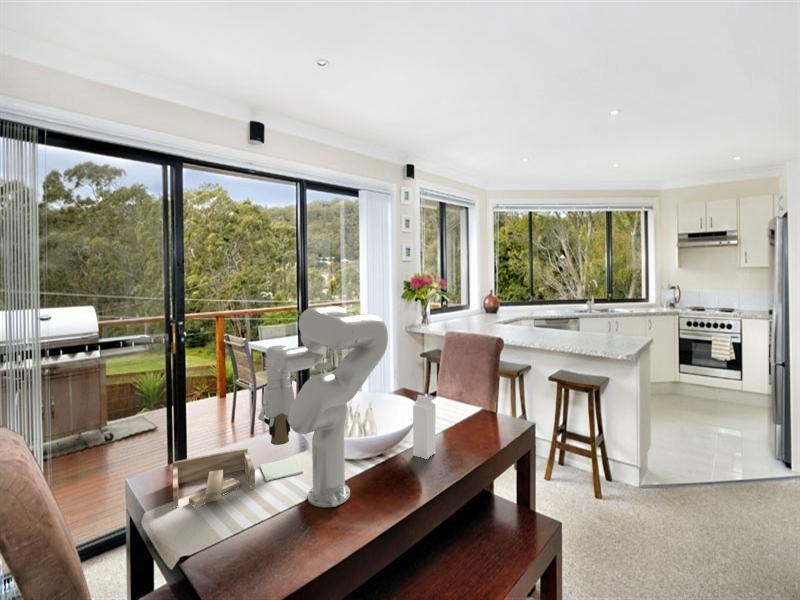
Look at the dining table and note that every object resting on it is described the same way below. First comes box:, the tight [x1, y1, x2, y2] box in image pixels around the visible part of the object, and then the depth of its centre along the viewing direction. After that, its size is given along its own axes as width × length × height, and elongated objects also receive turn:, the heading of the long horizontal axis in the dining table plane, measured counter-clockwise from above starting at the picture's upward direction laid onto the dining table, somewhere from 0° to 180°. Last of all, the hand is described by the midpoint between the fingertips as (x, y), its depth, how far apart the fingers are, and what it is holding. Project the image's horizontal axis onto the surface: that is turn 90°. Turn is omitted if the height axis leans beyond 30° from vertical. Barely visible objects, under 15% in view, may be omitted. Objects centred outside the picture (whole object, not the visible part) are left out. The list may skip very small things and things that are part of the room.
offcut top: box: [205, 470, 224, 503], centre depth 125 cm, size 4×14×2 cm, turn 21°
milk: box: [412, 394, 436, 460], centre depth 151 cm, size 6×6×22 cm
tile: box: [259, 456, 304, 482], centre depth 140 cm, size 12×12×1 cm
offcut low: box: [188, 477, 241, 508], centre depth 125 cm, size 4×14×2 cm, turn 144°
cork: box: [270, 413, 290, 446], centre depth 140 cm, size 6×6×11 cm
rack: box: [172, 446, 256, 508], centre depth 130 cm, size 16×22×7 cm
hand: (279, 434), depth 140 cm, fingers closed on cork, 4 cm apart
